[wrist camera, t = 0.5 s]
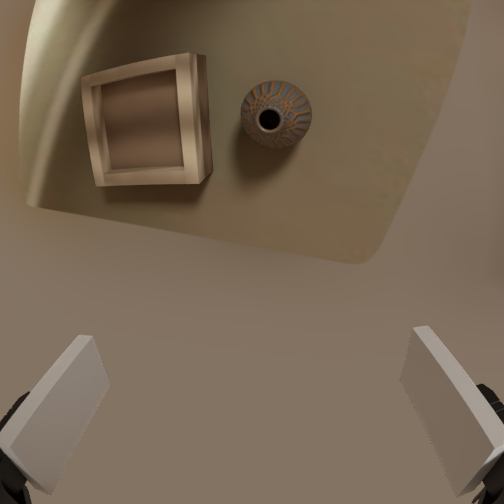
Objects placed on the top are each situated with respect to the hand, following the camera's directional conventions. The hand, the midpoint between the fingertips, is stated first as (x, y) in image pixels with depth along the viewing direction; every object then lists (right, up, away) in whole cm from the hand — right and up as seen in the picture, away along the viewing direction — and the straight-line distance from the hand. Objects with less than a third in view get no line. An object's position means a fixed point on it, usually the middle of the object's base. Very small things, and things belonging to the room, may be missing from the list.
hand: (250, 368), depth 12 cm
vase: (+3, +20, +20) cm, 28 cm away
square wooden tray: (-12, +21, +23) cm, 33 cm away
